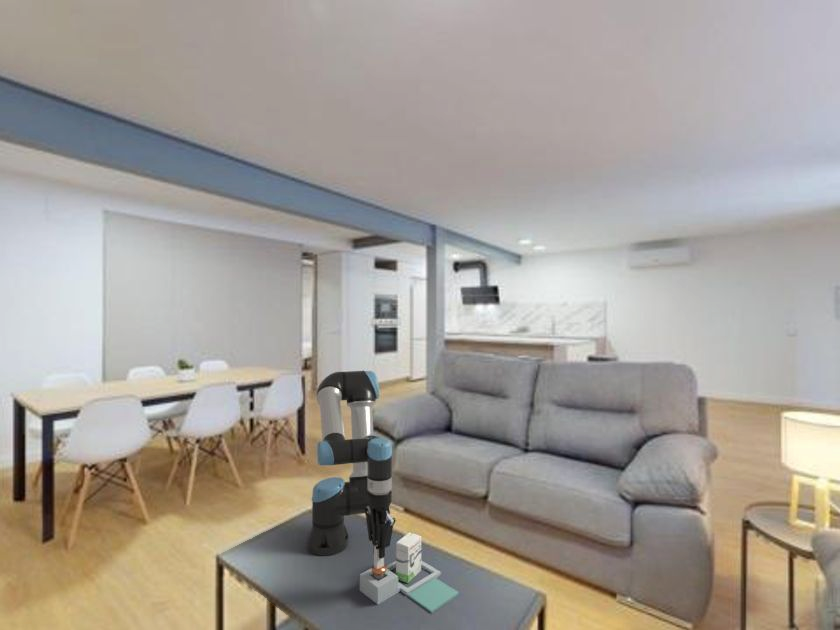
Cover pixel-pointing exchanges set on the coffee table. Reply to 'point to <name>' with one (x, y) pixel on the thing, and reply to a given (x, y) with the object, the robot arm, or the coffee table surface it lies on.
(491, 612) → the coffee table surface
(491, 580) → the coffee table surface
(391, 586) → the housing
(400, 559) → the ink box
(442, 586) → the mat
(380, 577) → the plunger
